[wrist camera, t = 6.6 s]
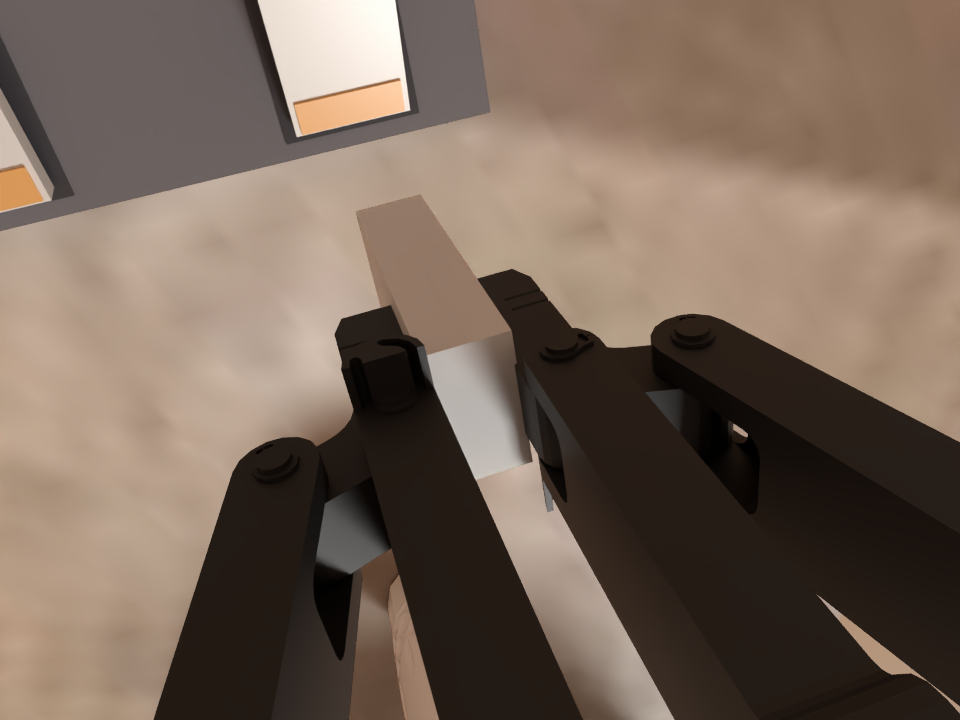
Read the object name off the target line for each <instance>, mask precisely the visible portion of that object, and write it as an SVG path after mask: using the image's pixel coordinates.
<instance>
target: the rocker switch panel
mask: <svg viewBox="0 0 960 720" xmlns="http://www.w3.org/2000/svg"><path fill="white" fill-rule="evenodd" d="M395 2H396V10H397V17H398V24H399V32H400V39H401V46H402V54H403V61H404V68H405V76H406V83H407V90H408V98H409V105H410V110H409V111H405V112H401V113H397V114H392V115H388V116H384V117H380V118H376V119H371V120H367V121H363V122H359V123H355V124H350V125H346V126H342V127H338V128H334V129H330V130H325V131H321V132H317V133H313V134H309V135H304V136H300V137H297V136H296V133H295V129H294V126H293V123H292V119H291V116H290V112H289V109H288V105H287V102H286V98H285V95H284V91H283V88H282V84H281V81H280V77H279V74H278V70H277V67H276V63H275V60H274V56H273V53H272V49H271V46H270V42H269V39H268V35H267V32H266V28H265V25H264V21H263V18H262V14H261V11H260V7H259V4H258V0H0V89H1V90H2V92H3V94H4V96H5V98H6V100H7V101H8V103H9V105H10V107H11V109H12V111H13V112H14V114H15V116H16V118H17V120H18V122H19V123H20V125H21V127H22V129H23V131H24V133H25V134H26V136H27V138H28V140H29V142H30V144H31V145H32V147H33V149H34V151H35V153H36V155H37V157H38V158H39V160H40V162H41V164H42V166H43V168H44V169H45V171H46V173H47V175H48V177H49V179H50V180H51V182H52V184H53V186H54V191H53V196H52V201H48V202H44V203H39V204H35V205H31V206H27V207H23V208H19V209H14V210H10V211H6V212H2V213H0V231H3V230H7V229H11V228H15V227H19V226H23V225H27V224H31V223H36V222H40V221H44V220H48V219H52V218H56V217H60V216H64V215H69V214H73V213H77V212H81V211H85V210H89V209H93V208H97V207H102V206H106V205H110V204H114V203H118V202H122V201H126V200H130V199H135V198H139V197H143V196H147V195H151V194H155V193H159V192H163V191H168V190H172V189H176V188H180V187H184V186H188V185H192V184H196V183H201V182H205V181H209V180H213V179H217V178H221V177H225V176H229V175H234V174H238V173H242V172H246V171H250V170H254V169H258V168H263V167H267V166H271V165H275V164H279V163H283V162H287V161H291V160H296V159H300V158H304V157H308V156H312V155H316V154H320V153H324V152H329V151H333V150H337V149H341V148H345V147H349V146H353V145H357V144H362V143H366V142H370V141H374V140H378V139H382V138H386V137H390V136H395V135H399V134H403V133H407V132H411V131H415V130H419V129H423V128H428V127H432V126H436V125H440V124H444V123H448V122H452V121H456V120H461V119H465V118H469V117H473V116H477V115H481V114H485V113H489V112H490V107H489V100H488V93H487V86H486V79H485V72H484V66H483V59H482V52H481V45H480V38H479V31H478V25H477V18H476V11H475V4H474V0H395Z"/></svg>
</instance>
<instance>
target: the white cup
mask: <svg viewBox="0 0 960 720" xmlns="http://www.w3.org/2000/svg"><path fill="white" fill-rule="evenodd" d="M388 612H389V618H390V623H391V628H392V633H393V649H394V657H395V661H396V668H397V676H398V684H399V690H400V696H401V701H402V707H403V713H404V718H405V720H439V718H438V715H437V711H436V707H435V704H434V700H433V696H432V693H431V689H430V685H429V682H428V678H427V674H426V671H425V667H424V664H423V660H422V656H421V653H420V649H419V645H418V642H417V638H416V634H415V631H414V627H413V623H412V620H411V616H410V613H409V609H408V605H407V602H406V598H405V594H404V591H403V587H402V583H401V580H400V576H399V575H398V576H397V578H396V579H395V581H394V582H393V583H392V585H391V586H390V591H389V600H388Z"/></svg>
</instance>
